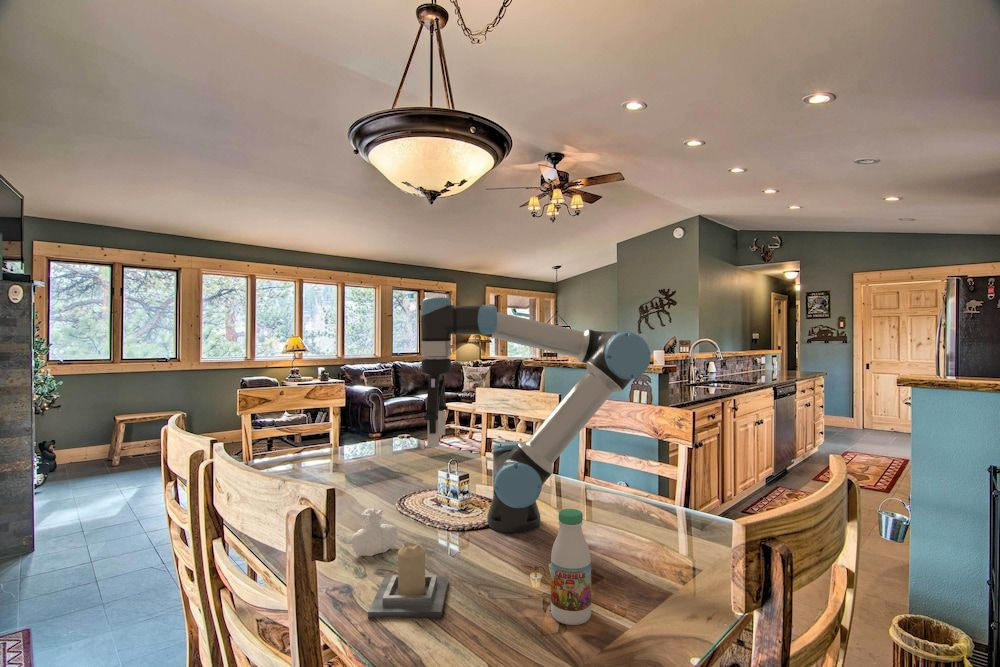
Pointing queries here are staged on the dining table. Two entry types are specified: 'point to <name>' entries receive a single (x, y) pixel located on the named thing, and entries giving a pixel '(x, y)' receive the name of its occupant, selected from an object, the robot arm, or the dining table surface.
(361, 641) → the dining table surface
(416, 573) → the candle
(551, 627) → the dining table surface
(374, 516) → the white animal figurine
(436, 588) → the plate
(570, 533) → the milk bottle
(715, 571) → the dining table surface
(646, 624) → the dining table surface
